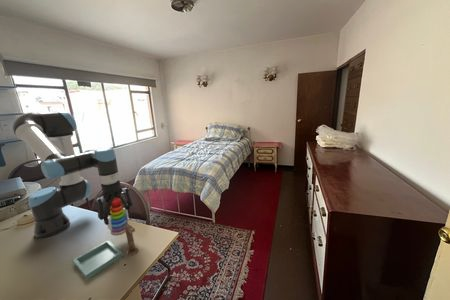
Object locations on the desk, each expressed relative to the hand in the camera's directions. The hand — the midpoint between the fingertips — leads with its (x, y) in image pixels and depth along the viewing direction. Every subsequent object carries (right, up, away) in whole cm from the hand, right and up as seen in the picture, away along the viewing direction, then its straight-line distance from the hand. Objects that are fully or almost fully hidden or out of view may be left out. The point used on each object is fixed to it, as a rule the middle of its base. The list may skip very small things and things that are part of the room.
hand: (118, 224), depth 92 cm
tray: (-4, -12, -9) cm, 16 cm away
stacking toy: (0, -4, +1) cm, 4 cm away
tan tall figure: (+9, -10, -5) cm, 15 cm away
